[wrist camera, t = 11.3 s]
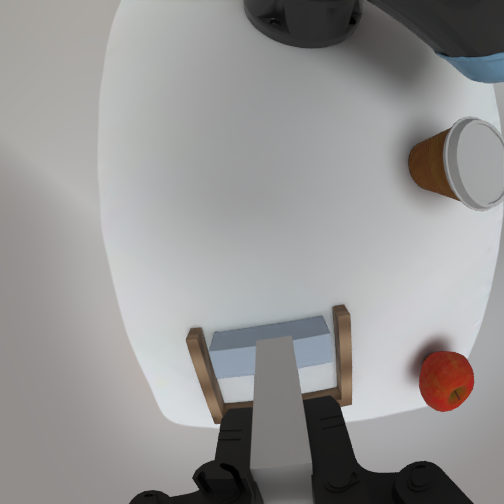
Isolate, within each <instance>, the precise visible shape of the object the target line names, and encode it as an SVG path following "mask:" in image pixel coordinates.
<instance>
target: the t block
mask: <svg viewBox="0 0 504 504" xmlns="http://www.w3.org/2000/svg"><path fill="white" fill-rule="evenodd" d="M291 335H292V340H293V346H294V352H295V358H296V363H297V368H302V367H308V366H313V365H319V364H324V363H329V362H332V349H331V335H330V331H329V329H328V327H327V325H326V323H325V320H324V318H323V316H318V317H312V318H307V319H301V320H295V321H290V322H284V323H277V324H271V325H265V326H258V327H251V328H244V329H237V330H229V331H222V332H215V333H214V336H213V339H212V343H211V346H210V349H209V354H210V358H211V361H212V365H213V368H214V372H215V375H216V378H217V379H218V378H229V377H239V376H248V375H255V356H256V340H263V339H271V338H278V337H285V336H291Z"/></svg>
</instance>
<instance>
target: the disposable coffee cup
mask: <svg viewBox="0 0 504 504" xmlns="http://www.w3.org/2000/svg"><path fill="white" fill-rule="evenodd" d="M409 170H410V173H411V176H412V178H413V180H414V181H415V182H416V183H417V184H418V185H419V186H420V187H421V188H423V189H426V190H430V191H433V192H436V193H438V194H441V195H444V196H447V197H450V198H453V199H455V200H458V201H461V202H462V203H463V204H464V205H466V206H467V207H469V208H471V209H473V210H475V211H486V210H489V209H491V208H492V207H494V206H497V205H498V204H500V203H501V202H502V201H503V200H504V139H503V137H502V135H501V134H500V133H499V131H498V130H497V129H496V128H495V127H494V126H493V125H491V124H490V123H488V122H486V121H483V120H481V119H479V118H476V117H464V118H462V119H459V120H458V121H457V122H456V123H454V125H453V126H452V127H451V128H449V129H447V130H445V131H443V132H441V133H439V134H437V135H435V136H433V137H431V138H429V139H427V140H425V141H423V142H421V143H418V144H417V145H416V146H415V147H414V148H413V149H412V150H411V153H410V156H409Z"/></svg>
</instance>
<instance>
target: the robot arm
mask: <svg viewBox="0 0 504 504" xmlns="http://www.w3.org/2000/svg"><path fill="white" fill-rule="evenodd" d="M367 1H369V2H370V3H372V4H373V5H375V6H377V7H378V8H380V9H381V10H383V11H384V12H386V13H387V14H389V15H390V16H392V17H393V18H395V19H396V20H397V21H399V22H400V23H402V24H403V25H404V26H406V27H407V28H408V29H409V30H411V31H412V32H413V33H415V34H416V35H417V36H418V37H419V38H421V39H422V40H423V41H424V42H425V43H427V44H428V45H429V46H430V47H431V48H432V49H433V50H434V51H435V53H436V54H437V55H438V56H440V57H442V58H444V59H446V60H447V61H448V62H449V63H450V64H452V65H453V66H454V67H455V68H456V69H457V70H458V71H459V72H460V73H462V74H463V75H464V76H465V77H467V78H469V79H471V80H473V81H477V82H483V83H499V82H504V0H367ZM244 8H245V12H246V14H247V16H248V18H249V20H250V21H251V22H252V24H253V25H254V26H255V27H256V28H257V29H258V30H260V31H261V32H262V33H264V34H265V35H267V36H268V37H270V38H272V39H274V40H276V41H279V42H282V43H284V44H288V45H292V46H296V47H303V48H321V47H327V46H331V45H335V44H337V43H340V42H341V41H343V40H345V39H346V38H348V37H349V36H350V35H351V34H352V33H353V31H354V30H355V28H356V27H357V25H358V23H359V22H360V19H361V16H362V0H244ZM192 479H193V480H194V482H195V483H196V485H197V486H198V488H199V489H200V490H198V491H196V492H193V493H190V494H185V495H179V496H174V497H169V496H168V495H167V494H165V493H163V492H161V491H155V490H150V491H144V492H142V493H140V494H138V495H137V496H135V497H134V498H133V499H132V500H131V502H130V503H129V504H473V502H472V501H471V500H470V499H469V498H468V497H467V496H466V495H465V494H464V493H463V492H462V491H461V490H460V489H459V487H458V486H457V485H456V484H455V483H454V482H453V481H452V480H451V479H450V478H449V477H448V476H447V475H446V474H445V472H444V471H443V470H442V469H441V468H440V467H438V466H437V465H436V464H434V463H431V462H427V461H419V462H414V463H412V464H409V465H407V466H406V467H404V468H403V469H402V470H401V471H400V472H395V473H377V472H371V471H368V470H366V469H364V468H363V467H361V466H360V465H359V464H358V463H357V460H356V458H355V455H354V452H353V448H352V445H351V441H350V438H349V434H348V431H347V428H346V425H345V421H344V418H343V414H342V411H341V408H340V404H339V403H338V402H337V401H336V400H335V399H334V398H333V397H332V396H331V395H328V396H323V397H317V398H311V399H305V400H302V394H301V388H300V382H299V375H298V369H297V363H296V358H295V352H294V346H293V340H292V335H291V336H285V337H278V338H271V339H263V340H256V356H255V378H254V400H253V407H247V408H234V409H228V411H227V412H226V414H225V415H224V416H223V418H222V419H221V425H220V433H219V436H218V442H217V448H216V454H215V460H213V461H210V462H208V463H205V464H203V465H202V466H201V467H199V468H198V469H197V470H196V471H195V473H194V475H193V477H192Z"/></svg>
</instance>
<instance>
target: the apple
mask: <svg viewBox="0 0 504 504" xmlns="http://www.w3.org/2000/svg"><path fill="white" fill-rule="evenodd" d="M473 386H474V373H473V369H472V367H471V365H470V364H469V362H468V360H467V359H466V358H465V357H464V356H463V355H461V354H459V353H456V352H448V351H441V352H435V353H431V354H430V355H429V356H428V357H427V358H426V359H425V360H424V362H423V364H422V368H421V372H420V378H419V388H420V392H421V395H422V397H423V399H424V400H425V402H426V404H427V405H429V406H430V407H432V408H433V409H435V410H437V411H441V412H445V411H451V410H453V409H455V408H457V407H459V406H460V405H461V404H462V403H463V402H464V401H465V400H466V399H467V397H468V396H469V395H470V393H471V391H472V390H473Z"/></svg>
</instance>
